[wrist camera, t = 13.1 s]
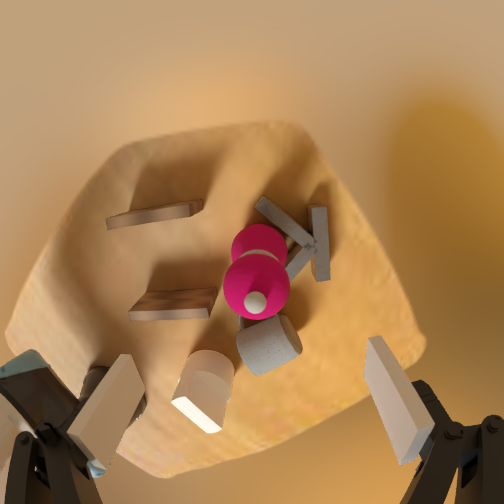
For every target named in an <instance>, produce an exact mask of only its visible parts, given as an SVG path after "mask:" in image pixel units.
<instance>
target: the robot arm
mask: <svg viewBox="0 0 504 504" xmlns="http://www.w3.org/2000/svg"><path fill="white" fill-rule="evenodd" d="M364 379H365V381H366V383H367V386H368V388H369V390H370V393H371V395H372V397H373V399H374V402H375V404H376V407H377V409H378V412H379V414H380V416H381V419H382V421H383V424H384V426H385V429H386V431H387V434H388V436H389V439H390V441H391V444H392V446H393V449H394V452H395V454H396V457H397V460H398V462H399V465H403V464H406V463H409V462H412V461H415V460H416V458H417V457H418V455H419V454H420V456H421V459H422V461H421V462H420V464H419V465H418V467H417V468H416V473H415V475H414V477H413V479H412V481H411V483H410V485H409V487H408V489H407V491H406V493H405V495H404V497H403V499H402V500H401V502H400V504H443V503H444V501H445V499H446V496H447V494H448V491H449V488H450V486H451V483H452V481H453V478H454V475H455V472H456V469H457V468H458V478H457V488H456V497H455V504H504V420H503V419H502V418H501V417H500V416H498V415H490V416H487V417H486V418H485V419H484V420H483V422H482V424H479V425H473V426H463V425H462V424H461V423H458V422H453V421H452V420H451V419H450V417H449V415H448V414H447V412H446V411H445V409H444V408H443V406H442V405H441V403H440V401H439V400H438V399H437V397H436V395H435V394H434V392H433V390H432V389H431V387H430V386H429V385H428V384H427V383H425V382H424V381H422V380H418V381H415V382H410V380H409V379H408V377H407V376H406V374H405V372H404V371H403V369H402V367H401V366H400V364H399V363H398V361H397V359H396V358H395V356H394V355H393V353H392V352H391V350H390V348H389V347H388V345H387V344H386V342H385V341H384V339H383V338H382V336H376V337H370V338H368V343H367V352H366V361H365V368H364ZM145 390H146V389H145V386H144V384H143V382H142V379H141V377H140V375H139V372H138V370H137V368H136V365H135V363H134V360H133V358H132V355H131V354H120V355H119V357H118V358H117V360H116V361H115V362H114V364H113V365H112V367H111V368H107V367H94V368H92V369H91V370H90V371H89V372H88V373H87V375H86V376H85V378H84V381H83V387H82V390H81V393H80V397H79V399H77V398H76V397H75V396H74V395H73V394H72V392H71V391H70V390H69V389H68V388H67V387H66V385H65V384H64V383H63V382H62V381H61V379H60V378H59V377H58V376H57V374H56V373H55V372H54V371H53V369H52V368H51V366H50V365H49V364H48V363H47V362H46V361H45V360H44V359H43V357H42V356H41V355H40V354H39V352H37V351H36V350H33V349H30V350H27V351H25V352H24V353H22V354H20V355H19V356H17V357H15V358H14V359H12V360H11V361H9V362H8V363H6V364H5V365H4V366H2V367H0V472H1V471H2V469H3V468H4V466H5V465H6V464H7V463H8V461H9V460H10V459H11V461H10V466H9V472H8V478H7V485H6V493H5V504H103V503H102V501H101V498H100V496H99V493H98V491H97V488H96V485H95V483H94V480H93V477H101V476H102V475H103V474H104V473H105V471H106V470H107V468H108V466H109V465H110V464H111V460H112V458H113V455H114V453H115V451H116V449H117V447H118V445H119V443H120V441H121V439H122V436H123V434H124V432H125V430H126V429H127V428H128V427H129V426H130V425H131V424H132V423H133V422H134V421H136V420H137V419H139V418H140V417H141V416H142V414H143V412H144V410H145V407H146V401H145V398H144V395H143V394H144V392H145ZM35 466H36V467H37V470H36V471H35Z"/></svg>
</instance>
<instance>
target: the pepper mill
mask: <svg viewBox="0 0 504 504" xmlns="http://www.w3.org/2000/svg"><path fill="white" fill-rule="evenodd" d="M231 257H232V261H233V263H232V265H231V266H230V267H229V269H228V270H227V272H226V274H225V278H224V284H223V290H224V295H225V299H226V301H227V303H228V304H229V306H230V307H231V308H232V310H234V311H235V312H236V313H237V314H239V315H240V316H243V317H245V318H249V319H255V320H259V319H265V318H269V317H271V316H273V315H275V314H276V313H277V312H279V311H280V310H281V309H282V308H283V306H284V305H285V303H286V301H287V299H288V296H289V292H290V281H289V277H288V273H287V271H286V270H285V268H284V265H285V263H286V259H287V245H286V242H285V240H284V238H283V236H282V235H281V234H280V233H279V232H278V231H277V230H276V229H274V228H273V227H272V226H270V225H268V224H265V223H255V224H252V225H250V226H248V227H246V228H245V229H243V230H242V231H240V232H239V233H238V235H237V236H236V237H235V239H234V241H233V244H232V250H231Z"/></svg>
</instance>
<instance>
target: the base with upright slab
mask: <svg viewBox="0 0 504 504" xmlns="http://www.w3.org/2000/svg"><path fill="white" fill-rule="evenodd" d="M233 379H234V366H233V364H232V362H231V361H230V359H228V358H227V357H226V356H225V355H223V354H221V353H219V352H217V351H213V350H199V351H196V352H194V353H192V354H191V355H190V356H189V357H188V358H187V360H186V363H185V365H184V368H183V370H182V373H181V375H180V378H179V381H178V385H177V388H176V390H175V393H174V396H173V398H172V401H171V403H172V404H173V405H174V406H176V407H177V408H178V409H179V410H180V411H181V412H182V413H184V414H185V415H186V416H187V417H188V418H189V419H191V420H192V421H193V422H194V423H195V424H196V425H198V426H199V427H200V428H201V429H203V430H204V431H205V432H206V433H214V432H217V431H220V430H221V429H222V427H223V421H224V415H225V409H226V403H227V402H228V401H229V399H230V397H231V392H232V386H233Z"/></svg>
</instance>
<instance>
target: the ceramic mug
mask: <svg viewBox="0 0 504 504" xmlns="http://www.w3.org/2000/svg"><path fill="white" fill-rule="evenodd" d="M238 322H239V327H240V330H241V331H239V332H238V333H237V334H236V344H237V347H238V351H239V353H240V355H241V358H242V360H243V362H244V363H245V365H246V366H247V368H248V369H249V370H250V371H251V372H252V373H253V374H254V375H256V376H261V375H263V374H265V373H267V372H269V371H271V370H273V369H275V368H277V367H279V366H281V365H283V364H285V363H287V362H289V361H291V360H293V359H294V358H296V357H297V356H298V355H300V354H301V353H302V350H303V347H302V344H301V341H300V338H299V336H298V334H297V332H296V330H295V328H294V326H293V325H292V323H291V321H290V320H289V319H288V317H287V316H285V315H283V314H280V315H278V314H277V313H276V314H275V315H274V316H273V317H270V318H268V319H266V320H263V321H262V322H260V323H257V324H255V325H252V326H250V327H248V328H244V325H243V320H242V316H240V315H238Z"/></svg>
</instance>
